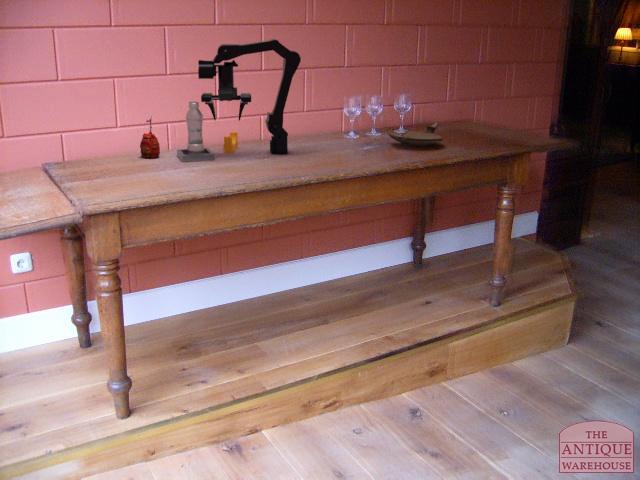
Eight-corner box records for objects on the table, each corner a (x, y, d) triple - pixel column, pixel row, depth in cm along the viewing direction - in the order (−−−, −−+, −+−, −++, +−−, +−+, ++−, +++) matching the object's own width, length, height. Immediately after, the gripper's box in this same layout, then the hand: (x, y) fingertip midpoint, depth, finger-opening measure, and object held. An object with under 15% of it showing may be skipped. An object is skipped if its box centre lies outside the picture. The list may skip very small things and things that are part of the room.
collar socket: (208, 153, 257) (207, 147, 256) (214, 159, 247) (214, 153, 246) (177, 155, 253) (176, 149, 252) (182, 162, 242) (182, 155, 242)
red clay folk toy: (136, 157, 248) (133, 117, 243) (147, 154, 255) (144, 115, 250) (154, 159, 246) (151, 119, 241) (164, 156, 252) (162, 116, 247)
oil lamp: (375, 143, 282) (376, 125, 279) (429, 138, 297) (430, 121, 294) (408, 153, 264) (409, 134, 261) (464, 146, 279) (465, 128, 276)
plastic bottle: (187, 157, 246) (184, 103, 239) (187, 153, 252) (185, 101, 246) (204, 157, 247) (202, 103, 240) (204, 153, 253) (202, 100, 247)
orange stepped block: (227, 147, 271) (226, 131, 268) (237, 147, 270) (237, 132, 268) (220, 153, 259) (219, 136, 257) (231, 153, 259) (230, 137, 257)
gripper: (198, 80, 240) (200, 123, 245) (250, 81, 241) (251, 123, 246) (201, 77, 250) (203, 119, 255) (250, 78, 252) (251, 119, 257)
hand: (227, 120), depth 253 cm, fingers open, 9 cm apart
